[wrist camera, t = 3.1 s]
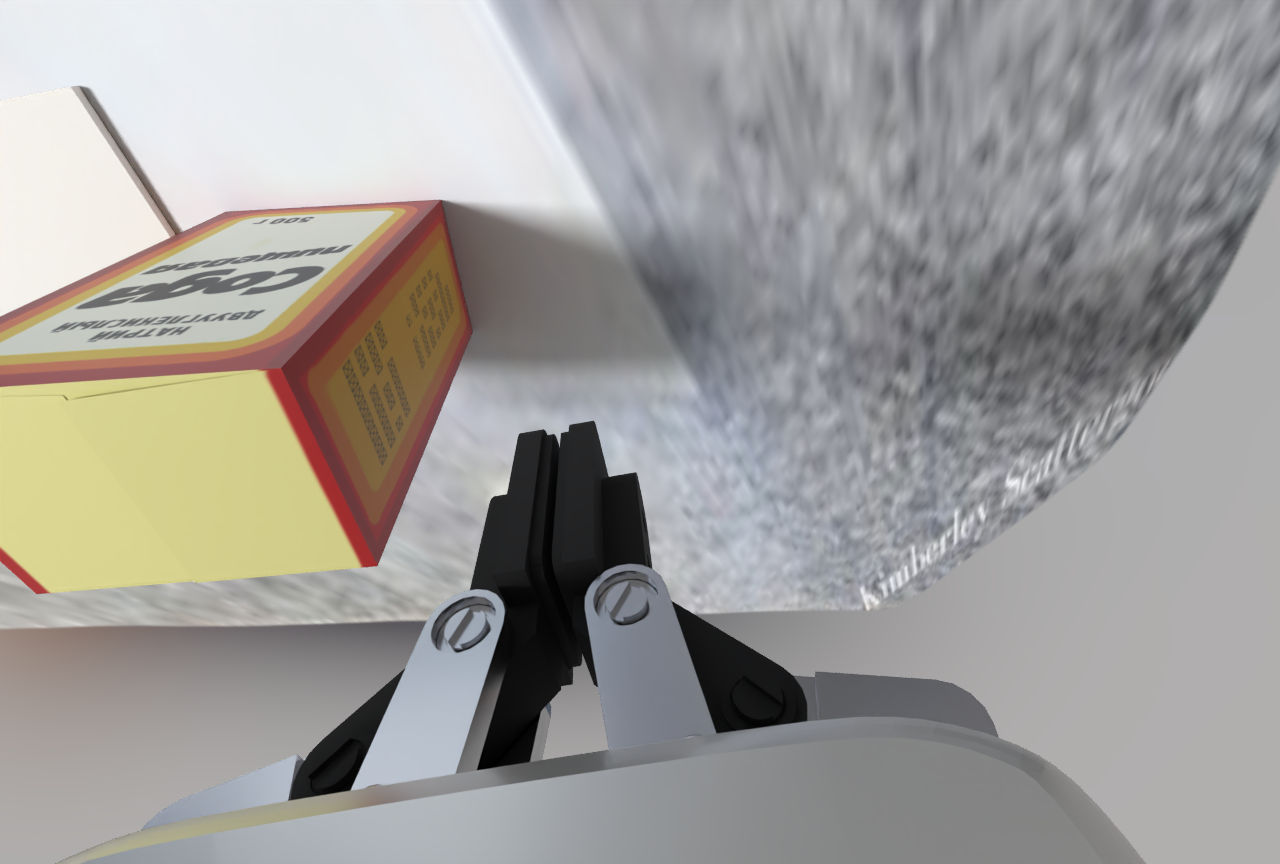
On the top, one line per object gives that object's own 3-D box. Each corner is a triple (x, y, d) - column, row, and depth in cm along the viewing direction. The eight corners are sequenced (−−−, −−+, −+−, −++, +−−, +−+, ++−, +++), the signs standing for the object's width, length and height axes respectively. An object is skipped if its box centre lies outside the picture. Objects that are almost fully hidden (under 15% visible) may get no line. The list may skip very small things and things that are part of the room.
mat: (78, 85, 21) (70, 86, 21) (313, 445, 32) (310, 449, 31) (-445, 188, 22) (-461, 190, 21) (-43, 507, 32) (-49, 511, 32)
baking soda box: (287, 344, 28) (25, 605, 15) (226, 211, 24) (-201, 408, 11) (472, 331, 28) (373, 576, 15) (440, 199, 24) (272, 376, 11)
